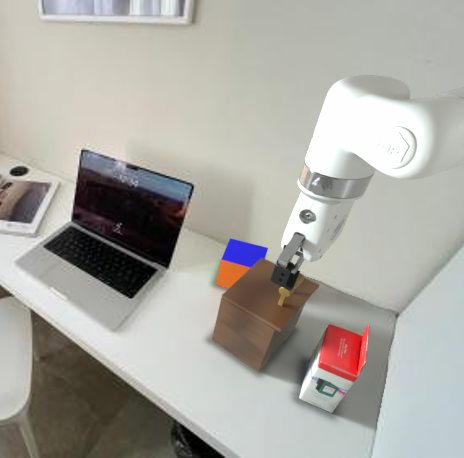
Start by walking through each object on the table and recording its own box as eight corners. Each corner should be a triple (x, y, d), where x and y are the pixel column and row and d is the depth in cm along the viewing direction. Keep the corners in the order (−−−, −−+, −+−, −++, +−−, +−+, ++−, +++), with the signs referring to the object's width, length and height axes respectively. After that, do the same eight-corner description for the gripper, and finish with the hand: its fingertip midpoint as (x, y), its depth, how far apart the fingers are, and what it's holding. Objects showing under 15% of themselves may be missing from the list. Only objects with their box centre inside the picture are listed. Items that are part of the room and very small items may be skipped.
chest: (293, 329, 72) (313, 285, 64) (258, 372, 66) (275, 329, 58) (247, 303, 78) (260, 260, 70) (211, 340, 72) (221, 297, 64)
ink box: (306, 361, 66) (333, 310, 57) (338, 374, 64) (372, 323, 55) (298, 399, 61) (326, 350, 52) (332, 415, 59) (368, 366, 50)
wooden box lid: (318, 287, 64) (328, 267, 60) (280, 332, 57) (288, 312, 54) (260, 260, 70) (266, 240, 67) (221, 297, 64) (225, 277, 61)
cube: (260, 273, 84) (268, 247, 80) (253, 296, 79) (261, 270, 75) (224, 263, 88) (230, 238, 83) (216, 284, 83) (221, 259, 78)
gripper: (337, 217, 41) (294, 312, 51) (391, 161, 49) (344, 253, 59) (271, 194, 46) (244, 285, 56) (330, 146, 53) (297, 234, 64)
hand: (296, 269), depth 58 cm, fingers open, 9 cm apart
